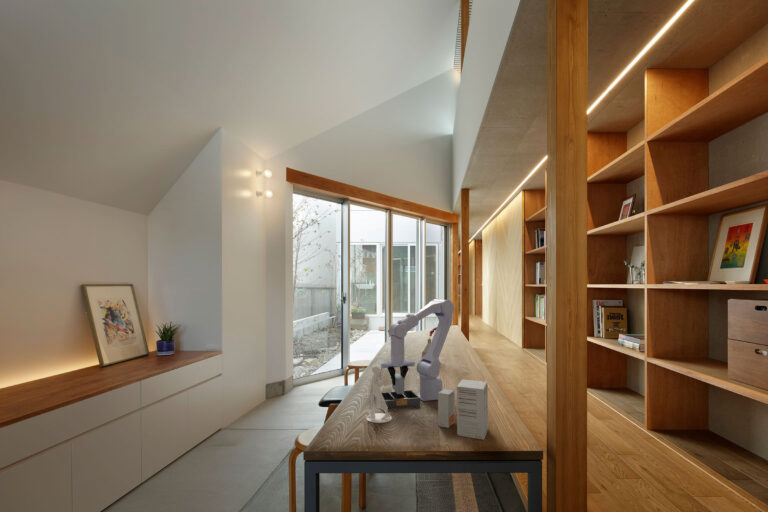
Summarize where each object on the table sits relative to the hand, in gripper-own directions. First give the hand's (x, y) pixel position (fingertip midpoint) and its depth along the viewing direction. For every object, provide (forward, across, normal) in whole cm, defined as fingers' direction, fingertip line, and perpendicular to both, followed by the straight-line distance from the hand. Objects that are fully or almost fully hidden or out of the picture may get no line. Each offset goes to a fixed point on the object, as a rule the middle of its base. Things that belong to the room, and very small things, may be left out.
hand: (397, 384), depth 168 cm
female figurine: (+8, -14, -12) cm, 20 cm away
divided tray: (+8, 0, 0) cm, 8 cm away
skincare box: (+8, +11, -26) cm, 29 cm away
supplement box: (+8, +17, -35) cm, 40 cm away
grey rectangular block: (+2, 0, -1) cm, 2 cm away
